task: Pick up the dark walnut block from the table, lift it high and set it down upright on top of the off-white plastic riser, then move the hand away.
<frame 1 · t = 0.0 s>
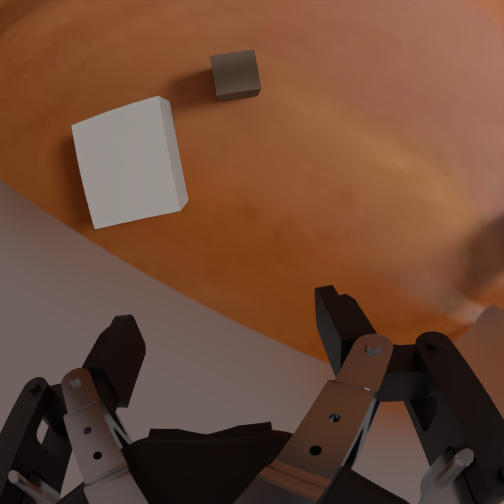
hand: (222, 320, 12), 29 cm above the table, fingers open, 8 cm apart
riser: (137, 160, 37), on the table
walnut block: (235, 81, 34), on the table
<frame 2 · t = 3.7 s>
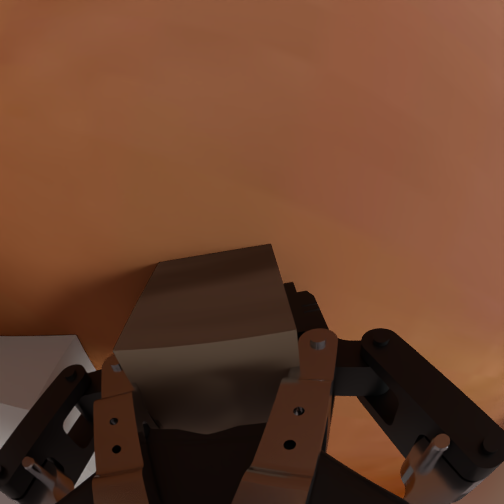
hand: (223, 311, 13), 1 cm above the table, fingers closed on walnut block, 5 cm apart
riser: (61, 406, 17), on the table
walnut block: (224, 302, 14), on the table, touching gripper
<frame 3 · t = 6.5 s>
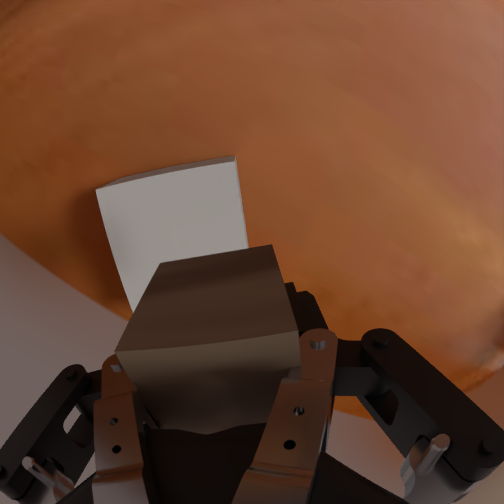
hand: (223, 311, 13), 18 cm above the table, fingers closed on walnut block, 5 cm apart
riser: (187, 232, 30), on the table
walnut block: (225, 302, 14), point 17 cm above the table, touching gripper
when the fingers open (8 cm above the table, at t = 9.5 s): walnut block drops 1 cm, resting on riser.
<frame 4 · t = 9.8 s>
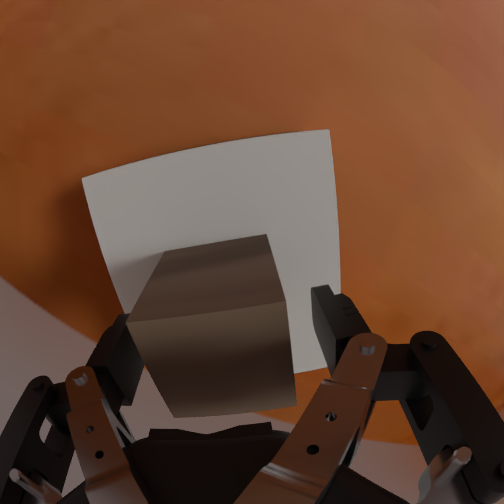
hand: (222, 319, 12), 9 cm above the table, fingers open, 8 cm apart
riser: (227, 245, 20), on the table
walnut block: (224, 288, 15), point 6 cm above the table, touching riser
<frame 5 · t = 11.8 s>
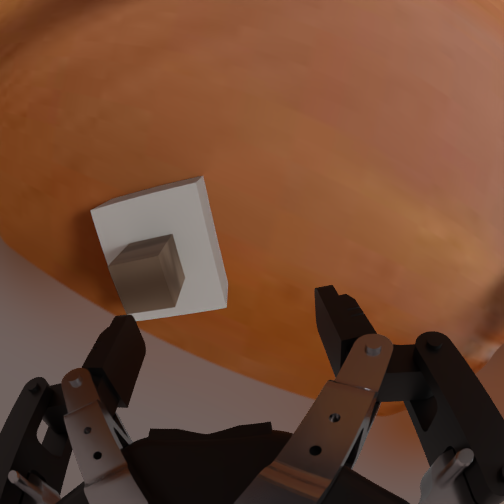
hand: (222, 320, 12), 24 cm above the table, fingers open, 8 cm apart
riser: (169, 241, 36), on the table
walnut block: (156, 260, 30), point 6 cm above the table, touching riser
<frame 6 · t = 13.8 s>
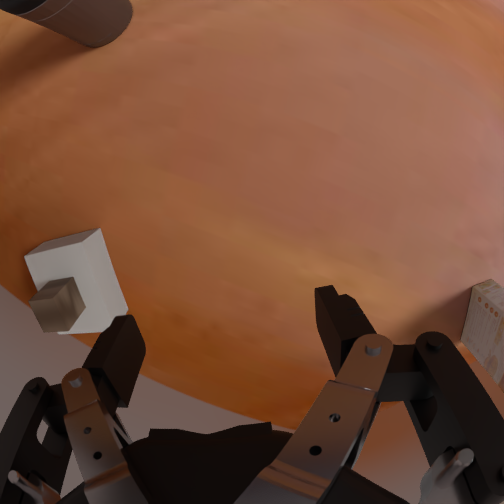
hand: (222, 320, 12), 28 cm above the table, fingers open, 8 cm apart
riser: (83, 275, 42), on the table
walnut block: (67, 294, 36), point 6 cm above the table, touching riser
coffeecake box: (475, 310, 50), on the table
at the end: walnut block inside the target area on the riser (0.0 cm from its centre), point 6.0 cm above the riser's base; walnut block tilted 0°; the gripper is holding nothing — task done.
